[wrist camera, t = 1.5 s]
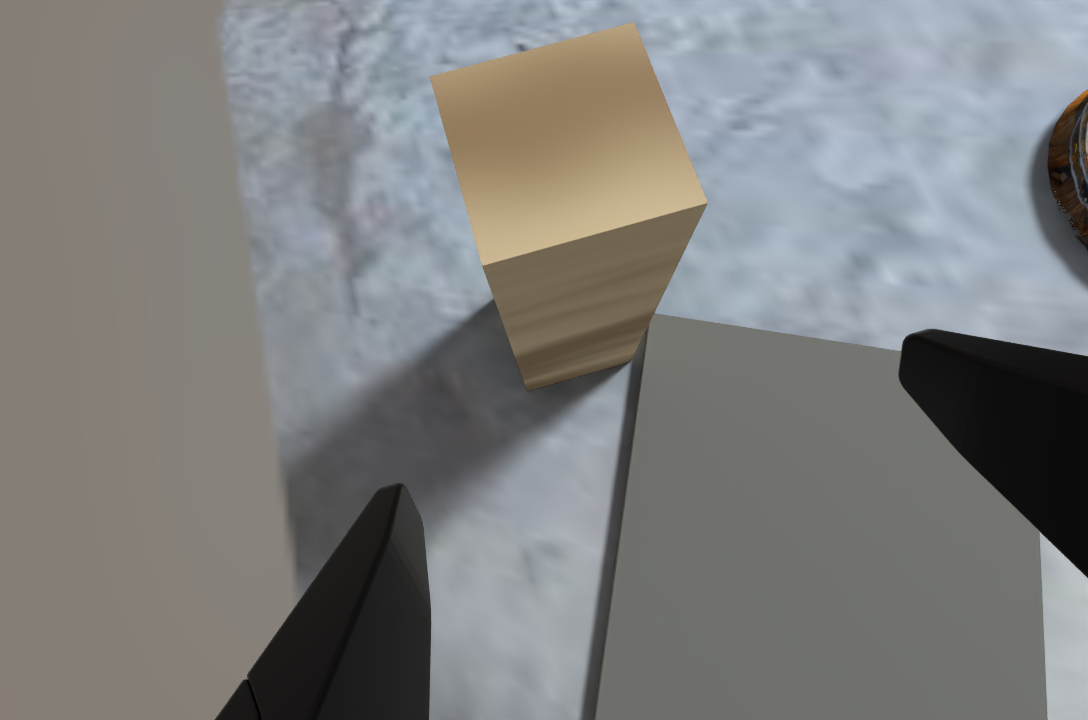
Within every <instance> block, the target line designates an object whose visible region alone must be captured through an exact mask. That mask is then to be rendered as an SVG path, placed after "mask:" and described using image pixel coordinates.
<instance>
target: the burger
mask: <svg viewBox="0 0 1088 720" xmlns="http://www.w3.org/2000/svg"><path fill="white" fill-rule="evenodd" d="M1048 172H1049V179H1050V183H1051V190H1052V192H1053V195H1054V198H1055V199H1057V198H1058V199H1057V203H1059V202H1058V201H1060V204H1061V205H1060V206H1061V207H1064V208H1062V209H1066V212H1064V211H1063V213H1067V212H1068V213H1069V214H1070V215H1071V216H1072V217H1073V219H1074V221H1073V220H1072V218H1071V219H1070V221H1069V222H1071V221H1072V222H1073V223H1074V225H1075V226H1073V224H1072V223H1070V224H1072V225H1071V226H1072V228H1074V227H1076V228H1078V230H1079V231H1080V232H1081V234H1080V235H1078V236H1076V237H1079V238H1080V239H1081V240H1082V241H1083V242H1084V243H1086V244H1087V245H1088V90H1086V91H1085V92H1083V93H1082V94H1081V95H1080V96H1079V97H1078V98H1077V99H1076V100H1074V101H1073V102H1072V103H1071V104H1070V105H1069V106H1068V107H1067V109H1066V110H1065V112H1064V113H1063V115H1062V116H1061V118H1060V119H1059V121H1058V122H1057V124H1056V127H1055V130H1054V132H1053V135H1052V138H1051V141H1050V145H1049V156H1048ZM1055 191H1056V192H1055ZM1058 206H1059V205H1058ZM1059 210H1061V209H1060V207H1059ZM1060 212H1061V211H1060ZM1066 215H1067V214H1066ZM1067 218H1068V217H1067ZM1073 230H1076V229H1073Z"/></svg>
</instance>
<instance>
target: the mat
mask: <svg viewBox="0 0 1088 720" xmlns="http://www.w3.org/2000/svg"><path fill="white" fill-rule="evenodd" d="M900 357H901V351H896V350H889V349H883V348H876V347H870V346H863V345H857V344H850V343H844V342H837V341H830V340H824V339H817V338H811V337H804V336H798V335H791V334H785V333H778V332H772V331H765V330H759V329H752V328H746V327H739V326H733V325H726V324H720V323H713V322H707V321H700V320H694V319H687V318H680V317H674V316H667V315H661V314H654V315H653V317H652V319H651V321H650V323H649V325H648V327H647V334H646V342H645V349H644V356H643V364H642V371H641V378H640V386H639V393H638V400H637V407H636V415H635V422H634V429H633V437H632V444H631V451H630V458H629V466H628V473H627V480H626V488H625V495H624V502H623V509H622V517H621V524H620V531H619V539H618V546H617V553H616V560H615V568H614V575H613V582H612V590H611V597H610V604H609V611H608V619H607V626H606V633H605V641H604V648H603V655H602V663H601V670H600V677H599V684H598V692H597V699H596V706H595V714H594V720H1047V697H1046V674H1045V650H1044V627H1043V604H1042V580H1041V557H1040V534H1039V530H1038V529H1037V528H1035V527H1034V526H1033V525H1032V524H1031V523H1030V522H1029V521H1028V520H1027V519H1026V518H1025V517H1024V516H1023V515H1022V514H1021V513H1020V512H1019V511H1018V510H1017V509H1016V508H1015V507H1014V506H1013V505H1012V504H1011V503H1010V502H1009V501H1008V500H1006V499H1005V498H1004V497H1003V496H1002V495H1001V494H1000V493H999V492H998V491H997V490H996V489H995V488H994V487H993V486H992V485H991V484H990V483H989V482H988V481H987V480H986V479H985V478H984V477H983V476H982V475H981V474H980V473H979V472H978V471H976V470H975V469H974V468H973V467H972V466H971V465H970V464H969V463H968V462H967V461H966V460H965V459H964V458H963V457H962V456H961V455H960V454H959V452H958V451H957V450H956V449H955V448H954V447H953V446H952V445H951V444H950V442H949V441H948V440H947V439H946V438H945V437H944V435H943V434H942V433H941V432H940V431H939V429H938V428H937V427H936V426H935V425H934V424H933V422H932V421H931V420H930V419H929V418H928V417H927V415H926V414H925V413H924V412H923V411H922V409H921V408H920V407H919V406H918V405H917V404H916V402H915V401H914V400H913V399H912V398H911V397H910V395H909V394H908V393H907V392H906V391H905V389H904V388H903V387H902V385H901V383H900V381H899V376H898V371H899V364H900Z"/></svg>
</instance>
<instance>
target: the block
mask: <svg viewBox="0 0 1088 720" xmlns="http://www.w3.org/2000/svg"><path fill="white" fill-rule="evenodd" d="M430 79H431V83H432V86H433V90H434V94H435V97H436V101H437V104H438V108H439V112H440V115H441V119H442V122H443V126H444V130H445V133H446V137H447V140H448V144H449V148H450V151H451V155H452V158H453V162H454V166H455V169H456V173H457V176H458V180H459V184H460V187H461V191H462V195H463V198H464V202H465V205H466V209H467V213H468V216H469V220H470V223H471V227H472V231H473V234H474V238H475V241H476V245H477V249H478V252H479V256H480V259H481V263H482V266H483V269H484V272H485V275H486V278H487V280H488V283H489V286H490V289H491V292H492V294H493V297H494V300H495V303H496V306H497V308H498V311H499V314H500V317H501V320H502V322H503V325H504V328H505V331H506V333H507V336H508V339H509V342H510V345H511V347H512V350H513V353H514V356H515V359H516V361H517V364H518V367H519V370H520V373H521V375H522V378H523V381H524V384H525V387H526V389H527V391H530V390H534V389H537V388H541V387H544V386H548V385H551V384H555V383H558V382H562V381H565V380H569V379H572V378H576V377H579V376H583V375H586V374H590V373H593V372H596V371H600V370H603V369H607V368H610V367H614V366H617V365H621V364H624V363H628V362H631V360H632V358H633V356H634V354H635V352H636V350H637V348H638V346H639V344H640V341H641V339H642V337H643V335H644V333H645V331H646V329H647V327H648V325H649V323H650V321H651V319H652V317H653V315H654V313H655V311H656V308H657V306H658V304H659V302H660V300H661V298H662V296H663V294H664V292H665V290H666V288H667V286H668V284H669V282H670V280H671V278H672V276H673V273H674V271H675V269H676V267H677V265H678V263H679V261H680V259H681V257H682V255H683V253H684V251H685V249H686V247H687V245H688V243H689V240H690V238H691V236H692V234H693V232H694V230H695V228H696V226H697V224H698V222H699V220H700V218H701V216H702V214H703V212H704V210H705V207H706V205H707V203H708V202H707V200H706V197H705V195H704V192H703V190H702V188H701V185H700V183H699V180H698V178H697V175H696V173H695V170H694V168H693V166H692V163H691V161H690V158H689V156H688V153H687V151H686V148H685V146H684V144H683V141H682V139H681V136H680V134H679V131H678V129H677V126H676V124H675V122H674V119H673V117H672V114H671V112H670V109H669V107H668V104H667V102H666V99H665V97H664V95H663V92H662V90H661V87H660V85H659V82H658V80H657V77H656V75H655V73H654V70H653V68H652V65H651V63H650V60H649V58H648V55H647V53H646V51H645V48H644V46H643V43H642V41H641V38H640V36H639V33H638V31H637V29H636V26H635V24H634V22H633V23H629V24H626V25H622V26H618V27H614V28H611V29H607V30H603V31H599V32H596V33H592V34H588V35H584V36H580V37H577V38H573V39H569V40H565V41H562V42H558V43H554V44H550V45H547V46H543V47H539V48H535V49H532V50H528V51H524V52H520V53H517V54H513V55H509V56H505V57H502V58H498V59H494V60H490V61H487V62H483V63H479V64H475V65H472V66H468V67H464V68H460V69H456V70H453V71H449V72H445V73H441V74H438V75H434V76H430Z"/></svg>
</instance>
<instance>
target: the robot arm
mask: <svg viewBox="0 0 1088 720" xmlns="http://www.w3.org/2000/svg"><path fill="white" fill-rule="evenodd" d="M898 376H899V381H900V383H901V385H902V387H903V388H904V389H905V391H906V392H907V393H908V394H909V395H910V397H911V398H912V399H913V400H914V401H915V402H916V404H917V405H918V406H919V407H920V408H921V409H922V411H923V412H924V413H925V414H926V415H927V417H928V418H929V419H930V420H931V421H932V422H933V424H934V425H935V426H936V427H937V428H938V429H939V431H940V432H941V433H942V434H943V435H944V437H945V438H946V439H947V440H948V441H949V442H950V444H951V445H952V446H953V447H954V448H955V449H956V450H957V451H958V452H959V454H960V455H961V456H962V457H963V458H964V459H965V460H966V461H967V462H968V463H969V464H970V465H971V466H972V467H973V468H974V469H975V470H976V471H978V472H979V473H980V474H981V475H982V476H983V477H984V478H985V479H986V480H987V481H988V482H989V483H990V484H991V485H992V486H993V487H994V488H995V489H996V490H997V491H998V492H999V493H1000V494H1001V495H1002V496H1003V497H1004V498H1005V499H1006V500H1008V501H1009V502H1010V503H1011V504H1012V505H1013V506H1014V507H1015V508H1016V509H1017V510H1018V511H1019V512H1020V513H1021V514H1022V515H1023V516H1024V517H1025V518H1026V519H1027V520H1028V521H1029V522H1030V523H1031V524H1032V525H1033V526H1034V527H1035V528H1037V529H1038V530H1039V531H1040V532H1041V533H1042V534H1043V535H1044V536H1045V537H1046V538H1047V539H1048V540H1049V541H1050V542H1051V543H1052V544H1053V545H1054V546H1055V547H1056V548H1057V549H1058V550H1059V551H1060V552H1061V553H1062V554H1063V555H1064V556H1065V557H1067V558H1068V559H1069V560H1070V561H1071V562H1072V563H1073V564H1074V565H1075V566H1076V567H1077V568H1078V569H1079V570H1080V571H1081V572H1082V573H1083V574H1084V575H1085V576H1086V577H1087V578H1088V356H1084V355H1078V354H1072V353H1067V352H1061V351H1056V350H1050V349H1044V348H1039V347H1033V346H1027V345H1022V344H1016V343H1011V342H1005V341H999V340H994V339H988V338H983V337H977V336H971V335H966V334H960V333H954V332H949V331H943V330H938V329H926V330H923V331H919V332H916V333H912V334H910V335H908V336H906V338H905V339H904V341H903V344H902V351H901V357H900V364H899V371H898ZM430 656H431V603H430V591H429V581H428V570H427V560H426V549H425V539H424V528H423V523H422V519H421V516H420V514H419V512H418V510H417V508H416V506H415V504H414V502H413V500H412V498H411V496H410V494H409V492H408V489H407V488H406V486H405V485H404V484H402V483H396V484H393V485H389V486H386V487H383V488H380V489H379V490H378V491H377V492H376V493H375V494H374V496H373V497H372V499H371V500H370V501H369V503H368V504H367V506H366V507H365V508H364V510H363V511H362V513H361V514H360V516H359V517H358V518H357V520H356V521H355V523H354V524H353V525H352V527H351V528H350V530H349V531H348V533H347V534H346V535H345V537H344V538H343V540H342V541H341V542H340V544H339V545H338V547H337V548H336V550H335V551H334V552H333V554H332V555H331V557H330V558H329V559H328V561H327V562H326V564H325V565H324V567H323V568H322V569H321V571H320V572H319V574H318V575H317V576H316V578H315V579H314V581H313V582H312V583H311V585H310V586H309V588H308V589H307V591H306V592H305V593H304V595H303V596H302V598H301V599H300V600H299V602H298V603H297V605H296V606H295V608H294V609H293V610H292V612H291V613H290V615H289V616H288V617H287V619H286V620H285V622H284V623H283V625H282V626H281V628H280V629H279V630H278V632H277V633H276V634H275V636H274V637H273V639H272V640H271V642H270V643H269V644H268V646H267V648H266V649H265V650H264V652H263V653H262V654H261V656H260V657H259V659H258V660H257V662H256V663H255V664H254V666H253V667H252V668H251V670H250V671H249V673H248V674H247V678H248V680H247V679H246V680H243V681H242V682H241V684H240V685H239V687H238V688H237V689H236V691H235V692H234V694H233V695H232V696H231V698H230V699H229V701H228V702H227V704H226V705H225V706H224V708H223V709H222V710H221V712H220V713H219V715H218V716H217V717H216V719H215V720H429V699H430Z"/></svg>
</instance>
